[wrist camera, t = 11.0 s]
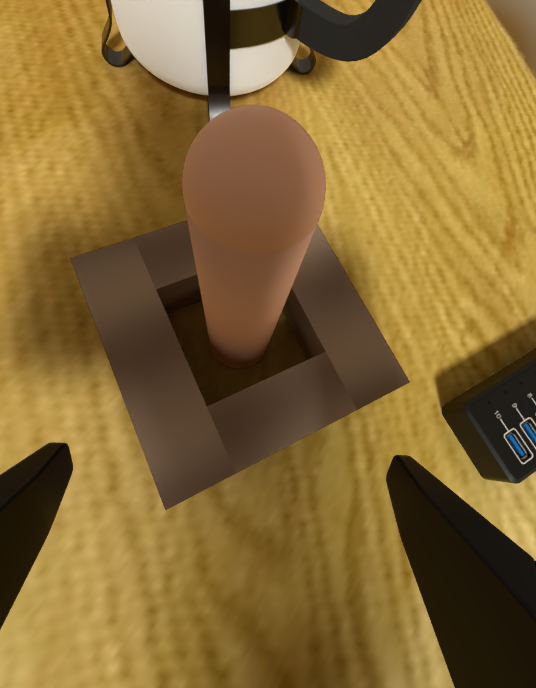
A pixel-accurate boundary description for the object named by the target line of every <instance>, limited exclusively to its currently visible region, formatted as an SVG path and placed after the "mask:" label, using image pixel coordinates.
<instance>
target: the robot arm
mask: <svg viewBox="0 0 536 688" xmlns="http://www.w3.org/2000/svg"><path fill="white" fill-rule="evenodd" d="M72 471H73V463H72V458H71V454H70V450H69V446H68V445H67V444H66V443H54V442H52V443H48V444H47V445H45V446H43V447H42V448H40V449H39V450H37V451H36V452H34V453H33V454H31V455H30V456H28V457H27V458H25V459H24V460H22V461H21V462H19V463H18V464H16V465H15V466H13V467H11V468H10V469H8V470H7V471H5V472H4V473H2V474H1V475H0V629H1V627H2V625H3V623H4V621H5V619H6V617H7V615H8V613H9V611H10V609H11V607H12V605H13V603H14V601H15V599H16V597H17V595H18V594H19V592H20V590H21V588H22V586H23V584H24V582H25V580H26V578H27V576H28V574H29V572H30V570H31V568H32V566H33V564H34V562H35V560H36V558H37V556H38V554H39V552H40V550H41V548H42V546H43V544H44V542H45V540H46V538H47V536H48V534H49V531H50V529H51V527H52V524H53V522H54V519H55V517H56V514H57V511H58V509H59V506H60V503H61V501H62V498H63V496H64V493H65V490H66V488H67V485H68V483H69V480H70V477H71V475H72ZM386 482H387V486H388V490H389V494H390V498H391V502H392V506H393V510H394V514H395V518H396V522H397V526H398V529H399V533H400V537H401V539H402V542H403V545H404V548H405V551H406V554H407V557H408V559H409V562H410V565H411V568H412V570H413V573H414V576H415V579H416V581H417V584H418V587H419V590H420V593H421V595H422V598H423V601H424V604H425V606H426V609H427V612H428V615H429V617H430V620H431V623H432V626H433V629H434V631H435V634H436V637H437V640H438V642H439V645H440V648H441V651H442V654H443V656H444V659H445V662H446V665H447V667H448V670H449V673H450V676H451V678H452V681H453V684H454V687H455V688H536V561H534V559H533V558H532V557H531V556H530V555H529V554H528V553H526V552H525V551H524V550H523V549H522V548H520V547H519V546H518V545H517V544H516V543H514V542H513V541H512V540H511V539H510V538H508V537H507V536H506V535H505V534H504V533H502V532H501V531H500V530H499V529H497V528H496V527H495V526H494V525H493V524H491V523H490V522H489V521H488V520H487V519H485V518H484V517H483V516H482V515H481V514H479V513H478V512H477V511H476V510H475V509H473V508H472V507H471V506H470V505H469V504H467V503H466V502H465V501H464V500H462V499H461V498H460V497H459V496H458V495H456V494H455V493H454V492H453V491H452V490H450V489H449V488H448V487H447V486H446V485H444V484H443V483H442V482H441V481H440V480H438V479H437V478H436V477H435V476H433V475H432V474H431V473H430V472H429V471H427V470H426V469H425V468H424V467H423V466H421V465H420V464H419V463H418V462H417V461H415V460H414V459H413V458H412V457H410V456H408V455H395V456H394V457H393V459H392V462H391V464H390V467H389V470H388V472H387V476H386Z"/></svg>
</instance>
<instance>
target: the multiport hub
mask: <svg viewBox="0 0 536 688" xmlns="http://www.w3.org/2000/svg"><path fill="white" fill-rule="evenodd" d="M442 415H443V417H444V418H445V420H446V421H447V423H448V425H449V426H450V428H451V429H452V431H453V432H454V434H455V436H456V437H457V439H458V440H459V442H460V443H461V445H462V447H463V448H464V450H465V451H466V453H467V454H468V456H469V458H470V459H471V461H472V462H473V464H474V466H475V467H476V469H477V470H478V472H479V473H480V475H481V476H482V477H483V478H484V479H487V480H495V481H502V482H509V483H516V484H517V483H520V482H522V481H523V480H524V479H526V478H527V477H528V476H530V475H531V474H532V473H534V472H535V471H536V349H535V350H533V351H531V352H530V353H528V354H526V355H525V356H523V357H522V358H520V359H518V360H517V361H515V362H514V363H512V364H510V365H509V366H507V367H505V368H504V369H502V370H501V371H499V372H497V373H496V374H494V375H492V376H491V377H489V378H488V379H486V380H484V381H483V382H481V383H480V384H478V385H476V386H475V387H473V388H471V389H470V390H468V391H467V392H465V393H463V394H462V395H460V396H458V397H457V398H455V399H454V400H452V401H450V402H449V403H447V404H446V405H444V406H443V408H442Z"/></svg>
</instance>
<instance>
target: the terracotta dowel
mask: <svg viewBox="0 0 536 688" xmlns="http://www.w3.org/2000/svg"><path fill="white" fill-rule="evenodd" d="M182 189H183V199H184V204H185V210H186V215H187V221H188V226H189V232H190V237H191V243H192V248H193V254H194V259H195V265H196V270H197V276H198V281H199V286H200V292H201V297H202V303H203V308H204V314H205V319H206V325H207V330H208V336H209V341H210V346H211V350H212V352H213V354H214V356H215V357H216V358H217V359H218V360H219V361H220V362H221V363H222V364H224V365H226V366H228V367H232V368H246V367H250V366H252V365H254V364H255V363H257V362H258V361H259V360H260V359H261V358H262V357H263V355H264V354H265V351H266V349H267V347H268V344H269V342H270V339H271V337H272V334H273V332H274V329H275V327H276V324H277V322H278V319H279V317H280V315H281V312H282V310H283V307H284V305H285V302H286V300H287V297H288V295H289V292H290V290H291V287H292V285H293V283H294V280H295V278H296V275H297V273H298V270H299V268H300V265H301V263H302V260H303V258H304V255H305V253H306V250H307V248H308V246H309V243H310V241H311V238H312V236H313V233H314V231H315V228H316V226H317V223H318V221H319V218H320V216H321V213H322V209H323V206H324V201H325V192H326V181H325V171H324V166H323V162H322V158H321V156H320V153H319V151H318V149H317V147H316V145H315V143H314V141H313V139H312V138H311V137H310V135H309V134H308V133H307V131H306V130H305V129H304V128H303V127H302V126H301V125H300V124H299V123H298V122H297V121H296V120H294V119H293V118H291V117H290V116H288V115H287V114H285V113H283V112H281V111H279V110H277V109H274V108H271V107H267V106H261V105H244V106H239V107H235V108H232V109H229V110H227V111H224V112H222V113H221V114H219V115H217V116H216V117H214V118H213V119H212V120H210V121H209V122H208V123H207V124H206V125H205V126H204V127H203V128H202V129H201V131H200V132H199V133H198V134H197V136H196V137H195V139H194V140H193V142H192V144H191V146H190V148H189V151H188V153H187V156H186V160H185V163H184V167H183V177H182Z"/></svg>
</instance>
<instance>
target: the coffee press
mask: <svg viewBox="0 0 536 688" xmlns="http://www.w3.org/2000/svg"><path fill="white" fill-rule="evenodd" d="M420 2H421V0H375V2H374V3H373V4H372V6H371V7H370V8H369V9H368V10H367V11H366V12H364V13H362V14H359V15H347V14H344V13H342V12H339V11H337V10H335V9H334V8H332V7H330V6H328V5H327V4H325V3H323V2H322V1H320V0H106V4H107V8H108V13H109V16H108V20H107V22H106V25H105V27H104V30H103V33H102V55H103V57H104V59H105V60H106V61H107V62H108V63H109V64H111V65H112V66H115V67H121V66H123V65H125V64H126V62H127V61H128V60H129V59H130V57H131V56H132V55H133V56H134V57H135V58H136V59H137V60H138V61H139V62H140V63H141V64H142V65H143V66H144V67H145V68H146V69H147V70H148V71H149V72H151V73H152V74H153V75H155V76H156V77H158V78H159V79H161V80H163V81H164V82H166V83H168V84H170V85H172V86H174V87H177V88H179V89H182V90H185V91H188V92H192V93H196V94H201V95H207V96H208V105H209V119H210V120H212V119H213V118H214V117H216V116H217V115H219V114H221V113H222V112H224V111H227V110H229V109H230V96H236V95H242V94H246V93H250V92H253V91H256V90H259V89H261V88H263V87H265V86H267V85H268V84H270V83H271V82H273V81H274V80H276V79H277V78H278V77H279V76H280V75H282V74H283V73H284V72H285V70H286V69H287V68H288V67H289V66H290V64H292V66H293V67H294V68H295V70H296V71H297V72H298V73H300V74H307V73H309V72H310V71H312V69H313V68H314V66H315V63H316V59H315V54H314V50H315V51H317V52H319V53H321V54H323V55H325V56H327V57H330V58H333V59H336V60H340V61H347V62H349V61H358V60H361V59H364V58H367V57H369V56H371V55H372V54H374V53H376V52H377V51H378V50H380V49H381V48H382V47H383V46H385V45H386V44H387V43H388V42H389V41H390V40H391V39H392V38H394V37H395V36H396V34H397V33H398V32H399V31H400V30H401V29H402V28H403V27H404V26H405V24H406V23H407V22H408V20H409V19H410V18H411V16H412V15H413V13H414V12H415V10H416V9H417V7H418V5H419V4H420ZM112 7H113V11H114V14H115V18H116V21H117V25H118V28H119V31H120V33H121V36H122V38H123V40H124V42H125V44H126V47H125V48H124V49H123V50H122V51H119V52H116V51H113V50H111V49H110V48H109V47H108V46H107V44H106V42H107V40H108V37H109V34H110V31H111V26H112ZM300 42H302V43H303V44H305V45H306V46H308V47H309V48H310V50H311V52H310V55H309V56H308V57H307V58H306V59H304V60H299V59H297V58H296V57H295V56H296V54H297V51H298V48H299V45H300Z"/></svg>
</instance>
